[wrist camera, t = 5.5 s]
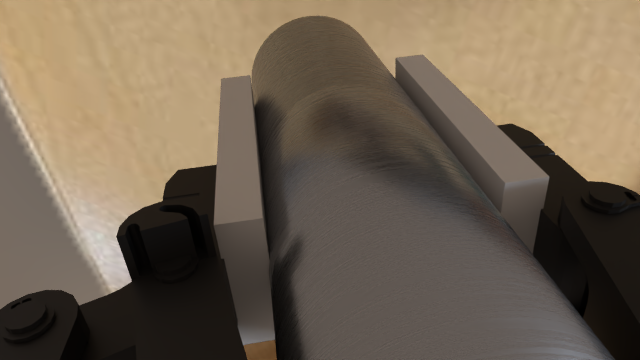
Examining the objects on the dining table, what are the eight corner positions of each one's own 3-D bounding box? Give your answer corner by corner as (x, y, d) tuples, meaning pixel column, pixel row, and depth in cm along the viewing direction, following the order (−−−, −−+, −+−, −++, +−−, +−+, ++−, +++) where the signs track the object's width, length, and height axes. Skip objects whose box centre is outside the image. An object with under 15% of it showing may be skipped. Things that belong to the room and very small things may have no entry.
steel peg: (320, 156, 18) (492, 715, 6) (225, 89, 16) (207, 689, 4) (400, 69, 17) (812, 557, 5) (306, -13, 15) (593, 433, 3)
